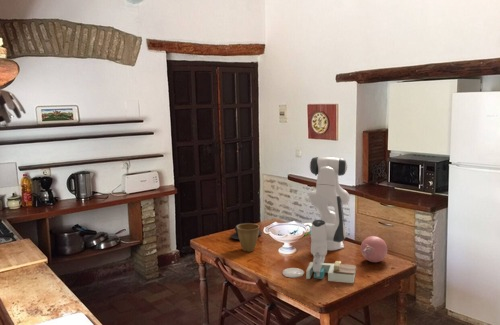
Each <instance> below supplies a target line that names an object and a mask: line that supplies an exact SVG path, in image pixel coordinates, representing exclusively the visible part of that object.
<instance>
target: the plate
mask: <svg viewBox="0 0 500 325" xmlns="http://www.w3.org/2000/svg"><path fill="white" fill-rule="evenodd" d="M282 275H283V276H284V277H287V278H291V279H297V278H301V277H303V276H304V275H305V271H304V270H303V269H301V268H297V267H288V268H285V269H283V270H282Z"/></svg>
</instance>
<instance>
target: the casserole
mask: <svg viewBox="0 0 500 325" xmlns="http://www.w3.org/2000/svg"><path fill="white" fill-rule="evenodd" d="M241 224H254V222H253V223H251V222H244V223H238V224H236V225H235V227H234V231H235V233H233V234H231V235H229V236H230V238H231V239H233V240H239V236H238V232H237V226H238V225H241ZM261 234H263V231H262V230H259V233H258V236H260V235H261Z"/></svg>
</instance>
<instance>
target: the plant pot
mask: <svg viewBox="0 0 500 325" xmlns="http://www.w3.org/2000/svg"><path fill="white" fill-rule="evenodd" d="M240 224H241V225H238V224H237V225H238V226H237V232H238V236H239V239H238V240H239V243H240V246H241V248H242V250H243V252H253V251H255V248H256V246H257V241H258V238H259V235H258V233H259V231H260V225H259V224H257V223H253V224H242V223H240Z"/></svg>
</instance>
